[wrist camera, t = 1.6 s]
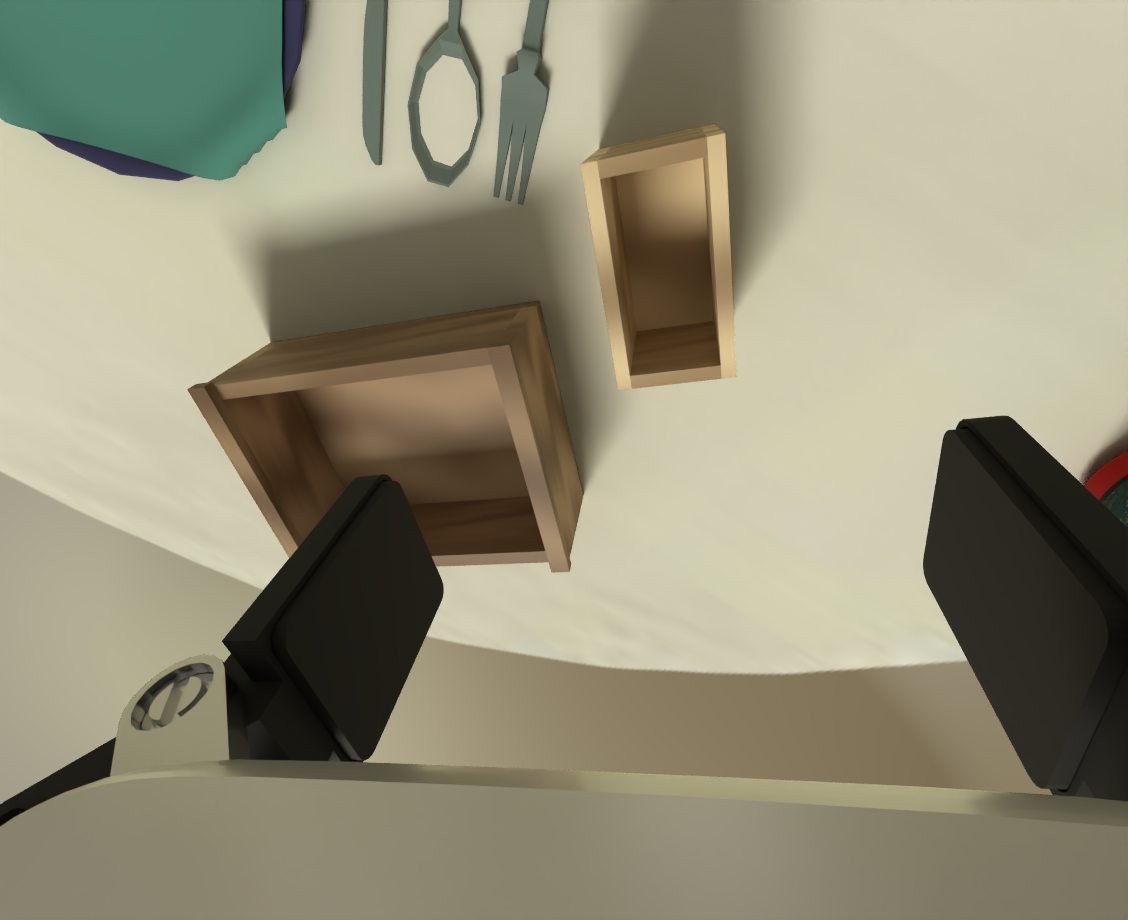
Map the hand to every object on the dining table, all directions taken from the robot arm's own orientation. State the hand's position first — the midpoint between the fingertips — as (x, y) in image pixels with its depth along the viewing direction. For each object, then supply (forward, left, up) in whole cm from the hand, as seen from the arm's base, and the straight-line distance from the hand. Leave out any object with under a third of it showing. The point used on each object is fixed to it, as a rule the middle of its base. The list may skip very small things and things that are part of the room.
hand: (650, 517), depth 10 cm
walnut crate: (+8, -15, -20) cm, 26 cm away
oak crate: (0, 0, -21) cm, 21 cm away
